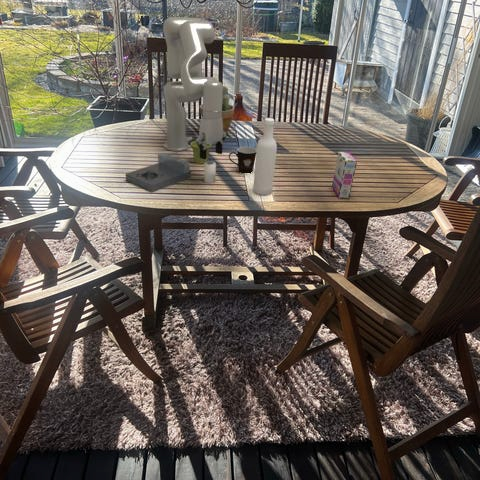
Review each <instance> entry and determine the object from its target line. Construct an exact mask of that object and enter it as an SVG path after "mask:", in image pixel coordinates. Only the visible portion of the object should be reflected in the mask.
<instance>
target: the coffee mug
mask: <svg viewBox="0 0 480 480" xmlns="http://www.w3.org/2000/svg"><path fill="white" fill-rule="evenodd" d="M256 152H257V148H254V147H250V146H240V147H238V148H237V152H235V151H233V152H230V153H228V160H230V162H231V163H232V164H234V165H236V166H237V168H238V169H237V170H239V171H238V173H240V172H241V173H240V174H243V173H250V174H252V173H253V172H252V171H253V170H254V168H255V163H256ZM231 155H235V156H236V157H237V162H235V161H234V160H232V159H231V157H230V156H231ZM251 172H252V173H251Z"/></svg>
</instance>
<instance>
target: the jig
mask: <svg viewBox="0 0 480 480" xmlns="http://www.w3.org/2000/svg"><path fill="white" fill-rule="evenodd" d="M157 161H158V163H154V164H151V165H149V166H145V167H143V168H142V167H141V168H139V169H137V170H133V171H130V172H126V173H125V181H127V182H128V183H130V184H133V185H135V186H137V187H139V188H142V189H144V190H146V191H149V192H151V193H154V192H155V193H156V191H160V190H162V189H165V188H167V187H171V186H173V185H175V184H178V183H180V182H183V181H186V180H188V179H191V178H192V171H191V170H190V169H191V168H190V167H191V166H190V165H191V163H190V162H189V161H186V160H183V159H181V158H179V157H176V156H173V155H171V154H167V153H165V152H162V153H158V154H157Z"/></svg>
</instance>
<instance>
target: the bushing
mask: <svg viewBox="0 0 480 480" xmlns="http://www.w3.org/2000/svg"><path fill="white" fill-rule="evenodd" d="M203 165H204V169H203V170H204V173H203V183H206V184H214V183H216V177H217V176H216V175H217V174H216V173H217V163H216V162H215V161H211V160H209V161H208V160H207V162H205V163H204V164H203Z"/></svg>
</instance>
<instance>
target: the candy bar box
mask: <svg viewBox="0 0 480 480" xmlns="http://www.w3.org/2000/svg"><path fill="white" fill-rule="evenodd" d="M357 163H358V161H357V160H356V158H355V157H354V156H353V155H352V154H351V152H349V151H338V152H337V159H336V164H335V168H334V173H333V178H332V186H331V189H332V188H333V189H332V191H333V190H334V191H335V192H334V191H333V192H334V193H336V194H335V195H336V196H338V197H337V198H338V199H344V198H349V199H350V196H351V191H352V186H353V182H354V177H355V173H356V169H357Z"/></svg>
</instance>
